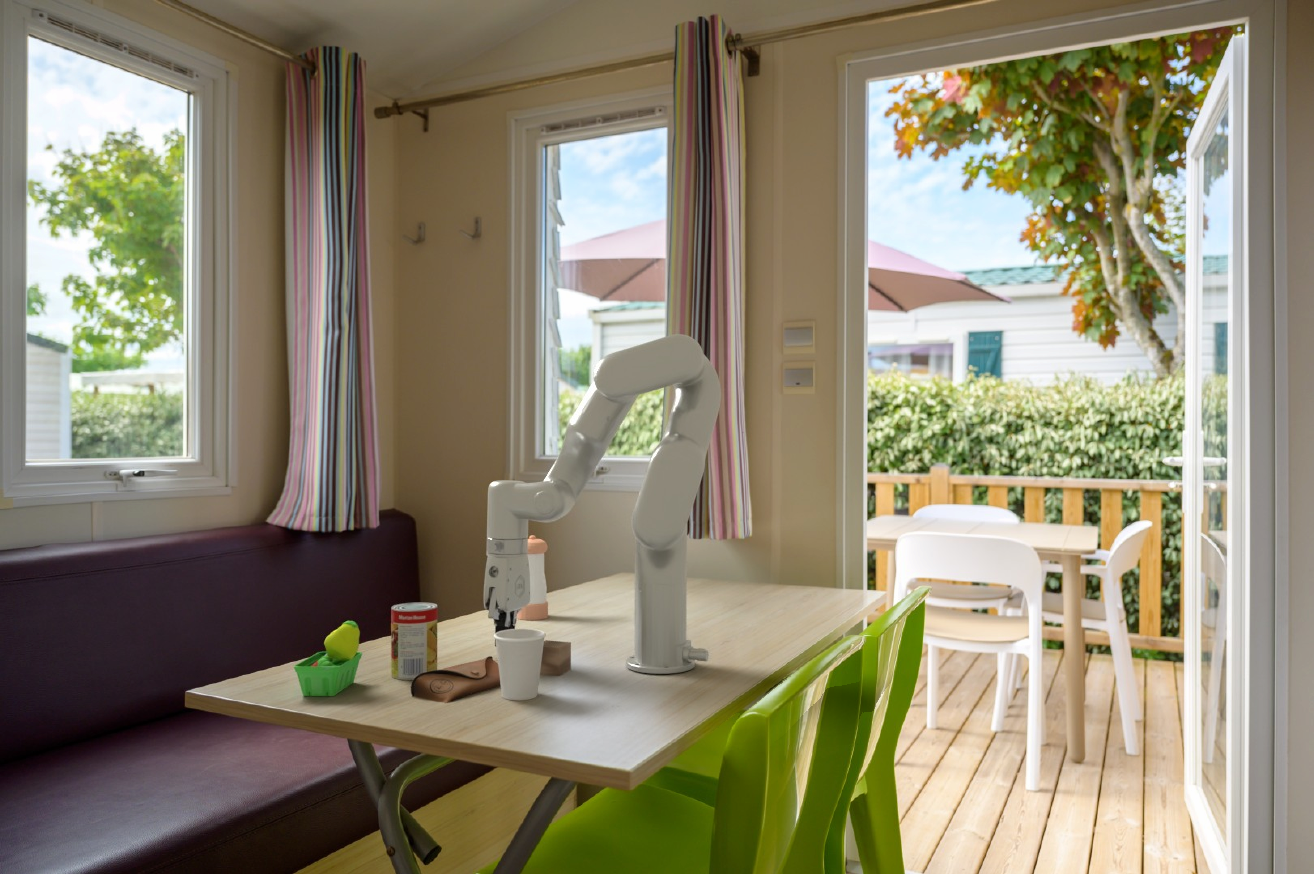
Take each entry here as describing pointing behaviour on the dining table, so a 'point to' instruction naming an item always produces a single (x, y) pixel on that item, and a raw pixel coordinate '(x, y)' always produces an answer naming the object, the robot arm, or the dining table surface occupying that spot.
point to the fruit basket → (331, 663)
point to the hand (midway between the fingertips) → (504, 646)
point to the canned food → (413, 639)
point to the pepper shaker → (536, 582)
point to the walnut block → (555, 658)
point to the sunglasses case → (457, 681)
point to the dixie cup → (519, 662)
